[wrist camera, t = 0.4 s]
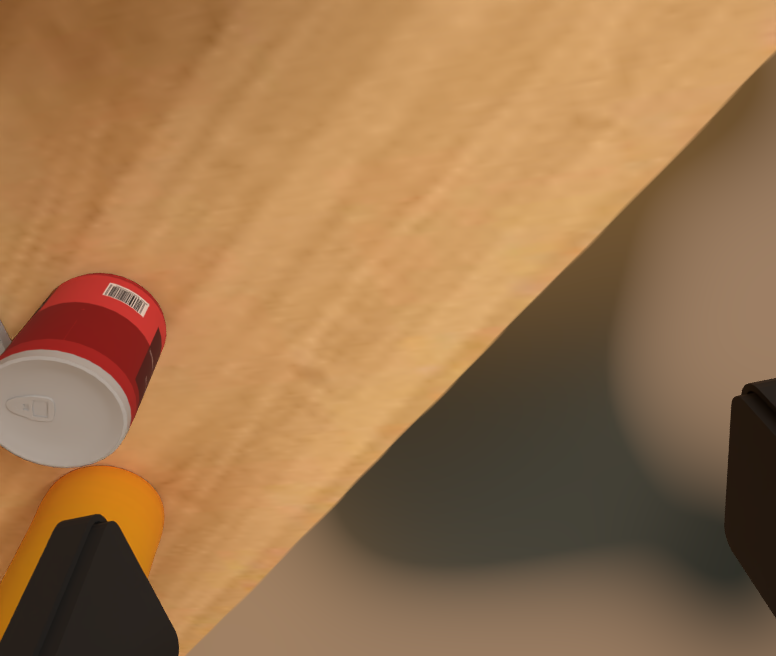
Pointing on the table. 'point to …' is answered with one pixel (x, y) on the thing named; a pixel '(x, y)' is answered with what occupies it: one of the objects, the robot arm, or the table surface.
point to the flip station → (3, 338)
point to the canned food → (79, 371)
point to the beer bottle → (78, 499)
